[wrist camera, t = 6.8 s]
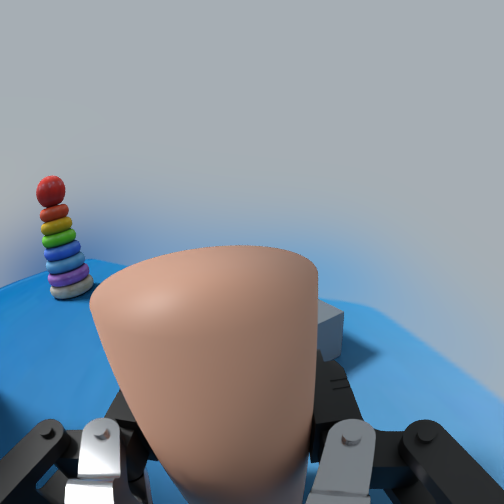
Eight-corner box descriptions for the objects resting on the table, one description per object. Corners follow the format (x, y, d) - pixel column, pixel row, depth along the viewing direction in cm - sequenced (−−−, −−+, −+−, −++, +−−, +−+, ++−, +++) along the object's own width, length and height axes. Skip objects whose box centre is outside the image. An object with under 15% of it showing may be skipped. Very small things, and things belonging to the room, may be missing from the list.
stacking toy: (88, 279, 44) (70, 174, 39) (100, 289, 39) (78, 167, 34) (50, 292, 39) (28, 183, 33) (55, 305, 33) (29, 177, 28)
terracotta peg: (226, 557, 6) (85, 371, 3) (184, 485, 10) (93, 270, 7) (322, 511, 8) (370, 278, 5) (267, 452, 13) (247, 237, 9)
